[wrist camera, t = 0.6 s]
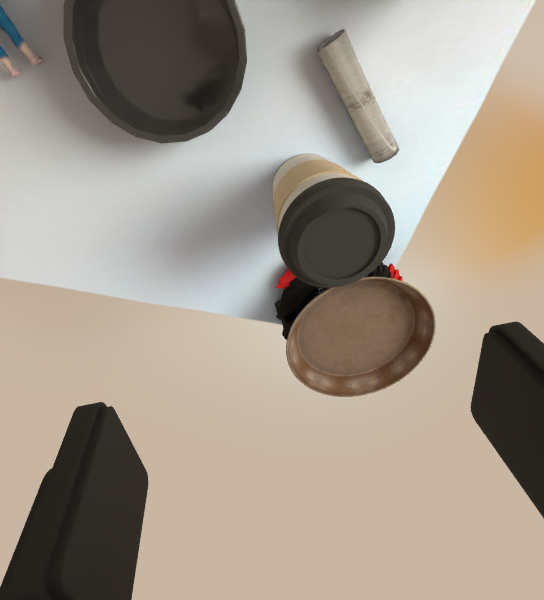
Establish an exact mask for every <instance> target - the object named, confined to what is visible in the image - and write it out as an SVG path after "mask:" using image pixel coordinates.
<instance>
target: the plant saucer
mask: <svg viewBox="0 0 544 600" xmlns="http://www.w3.org/2000/svg"><path fill="white" fill-rule="evenodd" d="M435 322H436V321H435V315H434V311H433V309H432V306H431V304H430V302H429V301H428V299H427V298H426V297H425V296H424V295H423V294H422V293H421V292H420V291H419V290H418V289H416V288H415V287H413V286H411V285H410V284H408V283H406V282H403V281H400V280H397V279H392V278H386V277H364V278H362V279H360V280H358V281H356V282H354V283H351V284H348V285H345V286H341V287H334V288H328V289H326V290H325V291H323V292H322V293H320V294H319V295H317V296H316V297H315V298H313V299H312V300H311V301H310V302H309V303H308V304H307V305H306V306H305V307H304V308H303V310H302V311H301V312H300V313H299V315H298V316H297V318H296V319H295V321H294V323H293V325H292V327H291V329H290V332H289V334H288V338H287V345H286V355H287V360H288V364H289V366H290V368H291V371H292V372H293V374H294V375H295V376H296V378H297V379H298V380H299V381H300V382H302V383H303V384H304V385H305V386H307V387H308V388H310V389H312V390H314V391H317V392H319V393H322V394H326V395H330V396H338V397H354V396H361V395H366V394H370V393H374V392H377V391H380V390H382V389H385V388H387V387H389V386H391V385H393V384H395V383H396V382H398V381H400V380H401V379H403V378H404V377H405V376H407V375H408V374H409V373H410V372H412V371H413V369H414V368H416V367H417V366H418V365H419V363H420V362H421V361H422V360H423V358H424V357H425V355H426V354H427V352H428V351H429V349H430V347H431V344H432V342H433V339H434V335H435V328H436V323H435Z"/></svg>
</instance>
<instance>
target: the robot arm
mask: <svg viewBox="0 0 544 600" xmlns="http://www.w3.org/2000/svg"><path fill="white" fill-rule="evenodd" d="M471 412H472V415H473V418H474V419H475V421H476V423H477V424H478V425H479V427H480V428H481V430H482V431H483V433H484V434H485V435H486V437H487V438H488V440H489V441H490V442H491V444H492V445H493V447H494V448H495V449H496V451H497V452H498V454H499V455H500V457H501V458H502V460H503V461H504V462H505V464H506V465H507V467H508V468H509V469H510V471H511V472H512V474H513V475H514V477H515V478H516V479H517V481H518V482H519V484H520V485H521V486H522V488H523V489H524V491H525V492H526V494H527V495H528V496H529V498H530V499H531V501H532V502H533V503H534V505H535V506H536V508H537V509H538V511H539V512H540V513H541V515H542V516H543V518H544V344H543V343H542V342H541V341H540V340H539V339H538V338H537V337H536V336H534V335H533V334H532V333H531V332H530V331H529V330H528V329H527V328H526V327H524V326H523V325H522V324H521V323H519V322H511V323H506V324H501V325H496V326H492V327H491V328H490V330H489V333H486V334H485V335H484V338H483V343H482V348H481V354H480V359H479V364H478V370H477V375H476V381H475V386H474V391H473V397H472V402H471ZM147 490H148V475H147V472H146V469H145V467H144V466H143V464H142V462H141V460H140V458H139V456H138V454H137V452H136V450H135V448H134V446H133V444H132V442H131V441H130V438H129V437H128V435H127V433H126V431H125V429H124V427H123V425H122V423H121V421H120V419H119V417H118V415H117V413H116V412H115V410H114V408H113V407H112V406H110V407H107V406H106V405H105V404H104V403H103V402H99V403H94V404H89V405H84V406H79V407H77V408H76V409H75V411H74V413H73V416H72V418H71V421H70V423H69V426H68V429H67V431H66V434H65V437H64V439H63V442H62V445H61V448H60V450H59V452H58V455H57V457H56V460H55V463H54V466H53V468H52V469H50V470H49V471H48V472H47V473H46V475H45V477H44V479H43V480H42V483H41V485H40V488H39V491H38V493H37V496H36V498H35V501H34V503H33V506H32V508H31V511H30V513H29V516H28V518H27V521H26V523H25V526H24V529H23V531H22V534H21V536H20V539H19V541H18V544H17V546H16V549H15V552H14V554H13V556H12V559H11V561H10V564H9V567H8V570H7V572H6V574H5V577H4V579H3V582H2V585H1V587H0V600H131V598H132V591H133V584H134V578H135V571H136V564H137V558H138V551H139V544H140V537H141V530H142V523H143V517H144V510H145V503H146V497H147Z"/></svg>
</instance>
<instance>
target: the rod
mask: <svg viewBox="0 0 544 600" xmlns="http://www.w3.org/2000/svg"><path fill="white" fill-rule="evenodd" d="M317 52H318V54H319V56H320V58H321V60H322V62H323V64H324V66H325V67H326V69H327V71H328V73H329V75H330V77H331V79H332V81H333V83H334V85H335V87H336V89H337V90H338V92H339V94H340V96H341V98H342V100H343V102H344V104H345V106H346V108H347V110H348V112H349V114H350V116H351V118H352V120H353V122H354V124H355V126H356V128H357V130H358V132H359V134H360V136H361V138H362V140H363V142H364V144H365V146H366V148H367V150H368V152H369V154H370V156H371V158H372V160H373V162H374V163H381V162H384V161H387V160H389V159H390V158H392V157H394V156H395V155H396V154H397V152H398V151H399V148H398V145H397V143H396V141H395V139H394V137H393V135H392V133H391V131H390V129H389V127H388V125H387V122H386V120H385V118H384V116H383V114H382V112H381V110H380V108H379V105H378V103H377V101H376V99H375V97H374V95H373V92H372V90H371V88H370V86H369V84H368V82H367V79H366V77H365V75H364V73H363V70H362V68H361V66H360V64H359V62H358V59H357V57H356V55H355V52H354V50H353V47H352V45H351V43H350V40H349V38H348V36H347V33H346V31H345V30H340V31H338V32H337V33H335V34H334V35H333V36H331V37H330V38H328V39H327V40H326V41H325V42H323V43H322V44H321V45H320V46H319V47H318V49H317Z"/></svg>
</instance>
